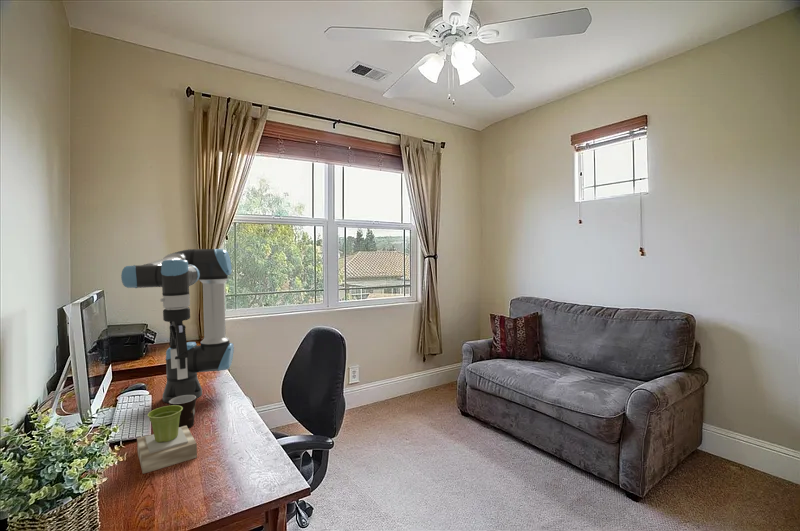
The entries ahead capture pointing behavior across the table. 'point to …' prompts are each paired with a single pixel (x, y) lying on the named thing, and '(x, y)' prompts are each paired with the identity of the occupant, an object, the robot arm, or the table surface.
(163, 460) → the wooden stand
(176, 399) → the coffee mug
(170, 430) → the plant pot
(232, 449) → the table surface
